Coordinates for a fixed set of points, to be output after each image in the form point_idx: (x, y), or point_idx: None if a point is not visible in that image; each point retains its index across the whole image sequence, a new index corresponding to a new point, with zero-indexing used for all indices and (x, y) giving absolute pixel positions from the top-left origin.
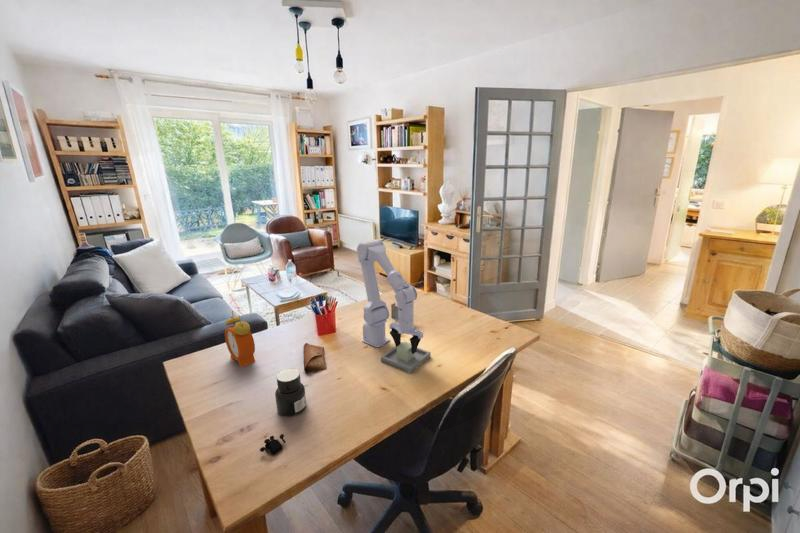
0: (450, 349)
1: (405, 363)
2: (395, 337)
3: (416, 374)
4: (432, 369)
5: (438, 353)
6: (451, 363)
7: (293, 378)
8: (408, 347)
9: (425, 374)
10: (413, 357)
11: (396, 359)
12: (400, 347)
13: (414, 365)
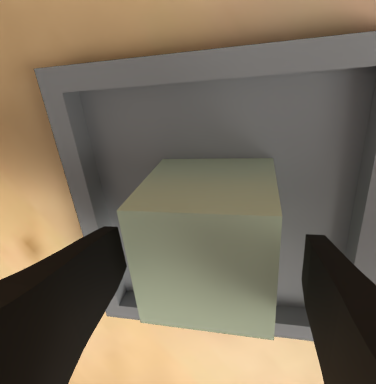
0: (102, 374)
1: (161, 138)
2: (364, 351)
3: (34, 90)
4: (23, 199)
5: (115, 332)
6: None
7: None
8: (156, 269)
9: (4, 131)
10: None
11: (260, 138)
12: (227, 227)
13: (53, 133)
